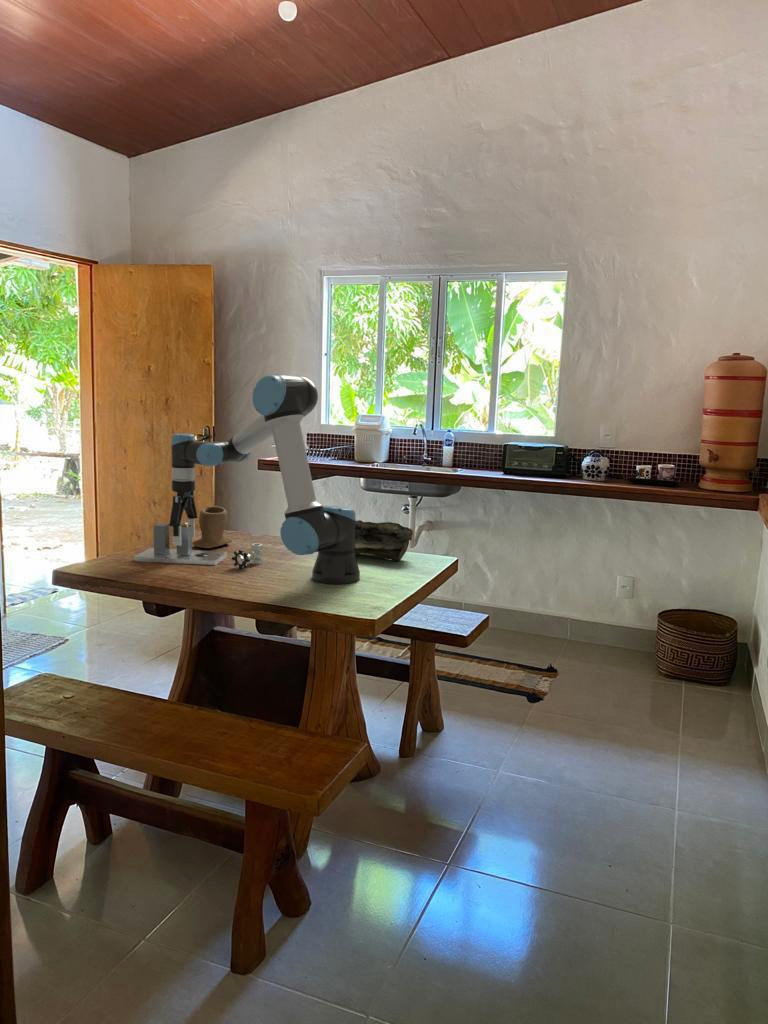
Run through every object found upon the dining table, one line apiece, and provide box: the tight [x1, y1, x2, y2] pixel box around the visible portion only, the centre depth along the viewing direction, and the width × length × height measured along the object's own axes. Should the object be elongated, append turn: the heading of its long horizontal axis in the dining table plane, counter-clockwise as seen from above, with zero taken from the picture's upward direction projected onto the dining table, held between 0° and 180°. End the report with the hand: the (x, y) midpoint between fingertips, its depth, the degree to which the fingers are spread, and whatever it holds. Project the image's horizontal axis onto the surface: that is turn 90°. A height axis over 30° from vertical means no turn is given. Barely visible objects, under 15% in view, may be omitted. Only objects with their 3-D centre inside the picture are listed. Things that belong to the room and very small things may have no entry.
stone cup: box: [192, 505, 233, 549], centre depth 280 cm, size 15×12×15 cm
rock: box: [355, 519, 414, 562], centre depth 270 cm, size 28×13×15 cm
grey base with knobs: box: [133, 523, 228, 566], centre depth 260 cm, size 14×28×12 cm, turn 85°
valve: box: [231, 542, 264, 570], centre depth 254 cm, size 7×7×12 cm
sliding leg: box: [176, 521, 193, 555], centre depth 259 cm, size 4×4×11 cm
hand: (184, 541), depth 260 cm, fingers open, 13 cm apart
